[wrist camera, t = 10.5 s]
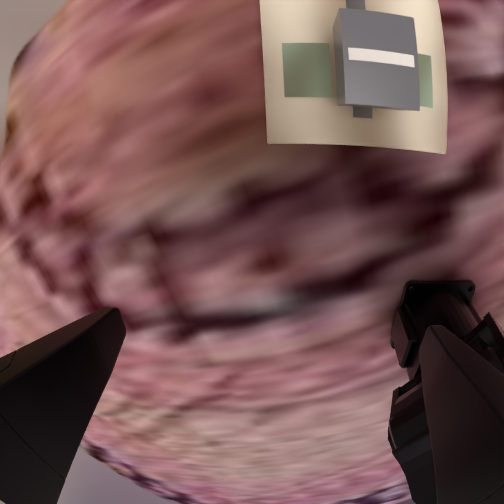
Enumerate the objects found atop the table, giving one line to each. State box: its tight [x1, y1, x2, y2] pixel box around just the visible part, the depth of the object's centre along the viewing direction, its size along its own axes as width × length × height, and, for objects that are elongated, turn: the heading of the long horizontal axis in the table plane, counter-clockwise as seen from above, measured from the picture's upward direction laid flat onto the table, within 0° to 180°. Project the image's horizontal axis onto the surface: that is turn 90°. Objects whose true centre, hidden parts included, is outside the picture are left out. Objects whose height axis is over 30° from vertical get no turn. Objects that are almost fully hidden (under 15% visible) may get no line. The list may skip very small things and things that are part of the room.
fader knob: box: [333, 8, 420, 111], centre depth 11 cm, size 3×4×4 cm
